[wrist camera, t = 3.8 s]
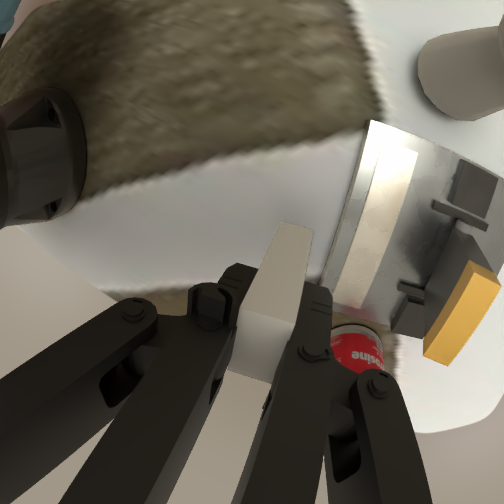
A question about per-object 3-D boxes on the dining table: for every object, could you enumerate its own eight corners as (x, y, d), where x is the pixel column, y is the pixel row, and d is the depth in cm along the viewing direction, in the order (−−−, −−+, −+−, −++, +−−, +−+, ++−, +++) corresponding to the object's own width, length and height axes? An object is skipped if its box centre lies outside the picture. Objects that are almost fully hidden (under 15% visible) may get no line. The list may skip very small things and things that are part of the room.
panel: (315, 291, 23) (313, 313, 21) (367, 120, 17) (373, 119, 14) (451, 327, 21) (459, 349, 19) (517, 188, 15) (537, 199, 12)
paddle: (420, 289, 18) (417, 362, 12) (453, 215, 16) (479, 262, 9) (438, 297, 18) (442, 372, 11) (473, 225, 15) (506, 276, 8)
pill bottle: (392, 348, 24) (401, 450, 14) (342, 375, 27) (333, 470, 17) (357, 310, 23) (358, 421, 14) (304, 342, 26) (283, 444, 17)
